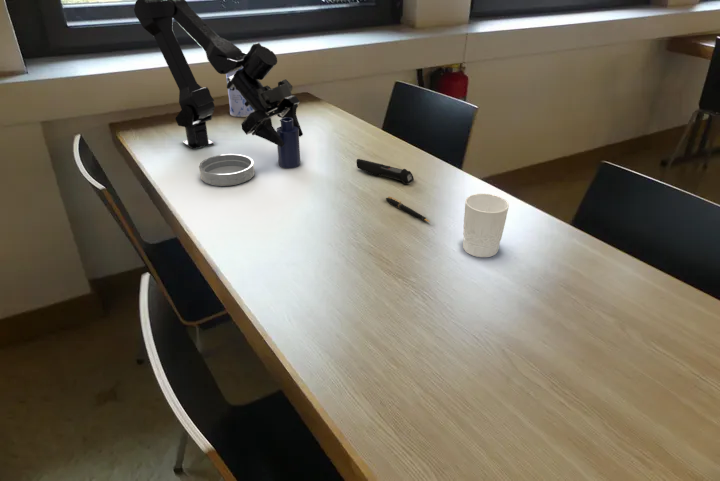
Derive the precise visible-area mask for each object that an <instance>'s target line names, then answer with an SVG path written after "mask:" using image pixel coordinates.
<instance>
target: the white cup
mask: <svg viewBox="0 0 720 481" xmlns="http://www.w3.org/2000/svg"><path fill="white" fill-rule="evenodd" d="M464 201H465V202H464V214H463V215H464V216H463V232H462V235H463V239H462V247H463V248H462V249H463V250H464V251H465V253H467V254H469V255H470V256H473V257H477V258H490V257H493V256H496V255H497V253H498V252H499V249H500V243H501V240H502V238H503V232H504V230H505V227H506V226H505V225H506V221H507V216H508V212H509V207H510V203H509V202H508V201H507V200H506V199H505V198H504V197H502V196H499V195H496V194H491V193H475V194H471V195H468V197H466V198H465V200H464Z"/></svg>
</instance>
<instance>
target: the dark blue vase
mask: <svg viewBox="0 0 720 481" xmlns="http://www.w3.org/2000/svg"><path fill="white" fill-rule="evenodd" d="M280 120H281V121H280V126H278V127H277V128H276V129H275V131H276V132H277V133H278V135H279V136H280V138H281V139H282V141H283V142H284V144H285V145H284V146H283V147H280V146H278V145H276V146H277V158H278V166H279V167H281V168H282V169H295V168H298V167H299V166H300V165H301V151H300V150H301V147H300V137H299V129H298V127H296V126H294V124H293V118H289V117H287V118H282V119H281V118H280Z"/></svg>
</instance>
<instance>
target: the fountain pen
mask: <svg viewBox="0 0 720 481" xmlns="http://www.w3.org/2000/svg"><path fill="white" fill-rule="evenodd" d="M385 200H386V201H387V202H388V203H389V204H391V205H392V206H393V207H396V208H397V209H399V210H402V211H404V212H405V213H407V214H408V215H411V216H413V217H415V218H417V219H418V220H420V221H423V222H425V221H426V222H428V223H431V221H430V220H429V219H427V217H425V216H424V215H422V214H420V213H418V212H417V211H416V210H413V209H412V208H410V207H409V206H406V205H404V204H403V203H402V201H401V200H398V199H396V198H394V197H392V196H388V197H385Z"/></svg>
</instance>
